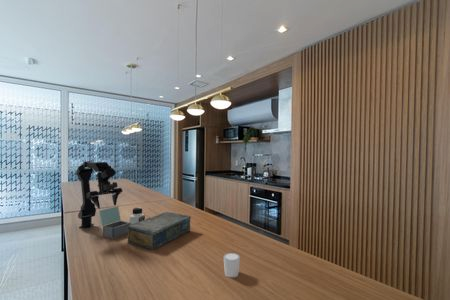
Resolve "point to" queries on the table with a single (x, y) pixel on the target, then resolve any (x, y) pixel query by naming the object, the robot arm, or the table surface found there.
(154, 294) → the table surface
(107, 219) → the lid
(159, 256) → the table surface
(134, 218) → the medicine bottle
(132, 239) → the metal box
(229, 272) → the shot glass
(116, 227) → the storage box
